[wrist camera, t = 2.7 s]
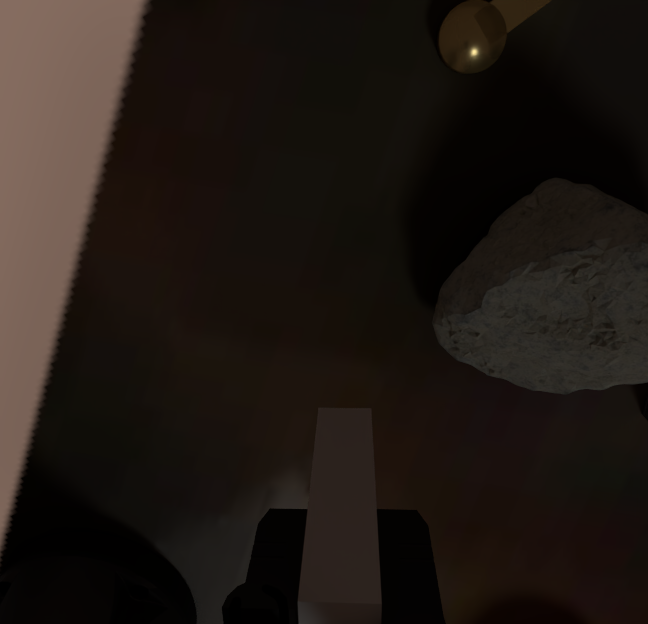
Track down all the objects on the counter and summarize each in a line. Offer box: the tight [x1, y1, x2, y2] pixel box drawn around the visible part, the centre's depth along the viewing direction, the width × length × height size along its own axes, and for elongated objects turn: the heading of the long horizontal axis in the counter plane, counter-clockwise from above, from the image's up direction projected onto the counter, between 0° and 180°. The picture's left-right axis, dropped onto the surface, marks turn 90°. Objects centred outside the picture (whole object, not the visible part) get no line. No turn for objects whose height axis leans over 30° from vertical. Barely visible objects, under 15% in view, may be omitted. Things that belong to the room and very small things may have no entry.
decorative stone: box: [432, 178, 648, 394], centre depth 30 cm, size 13×11×10 cm
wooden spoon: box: [436, 0, 551, 74], centre depth 27 cm, size 8×3×1 cm, turn 126°
